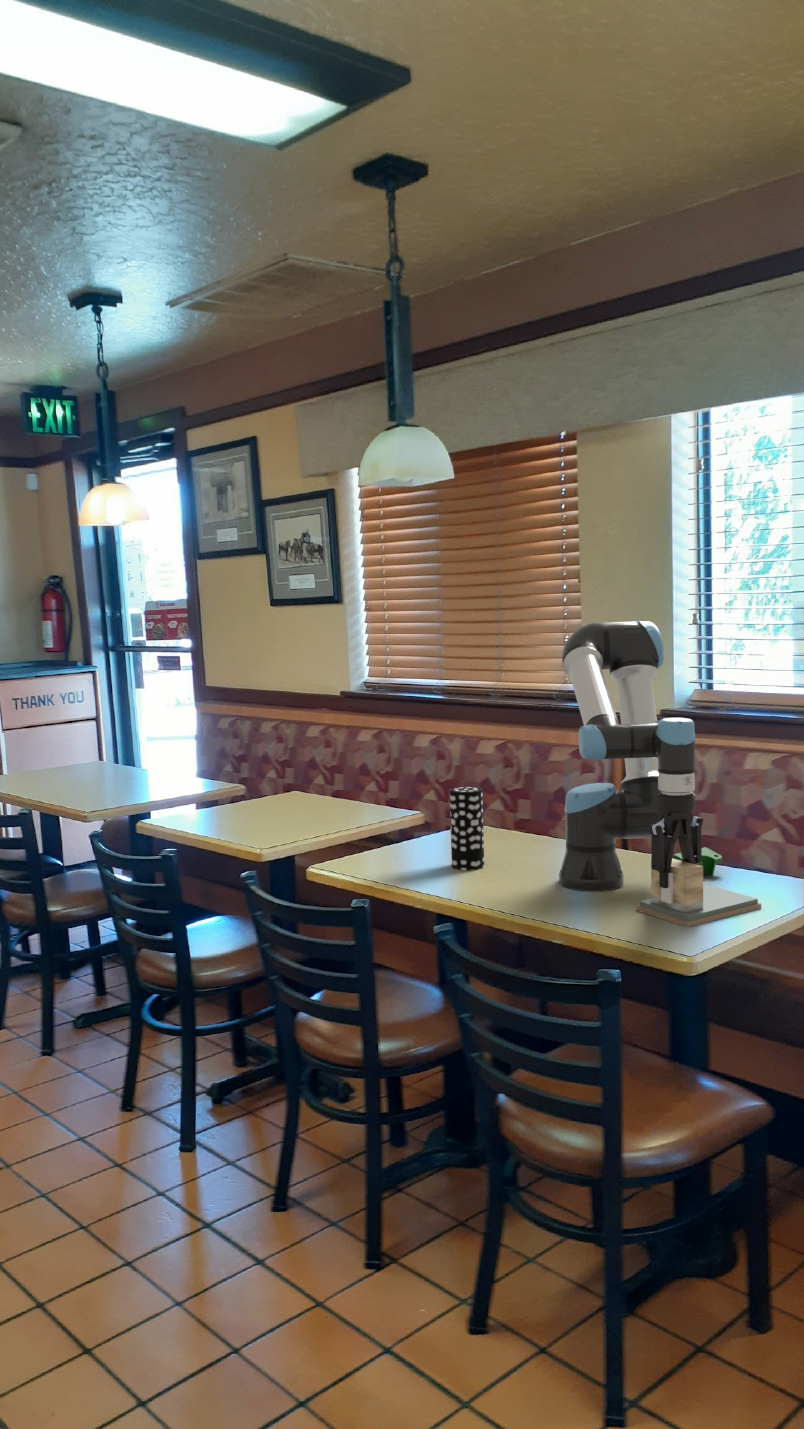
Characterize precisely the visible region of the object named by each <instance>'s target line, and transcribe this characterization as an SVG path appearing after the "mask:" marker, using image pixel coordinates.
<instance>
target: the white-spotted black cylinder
mask: <svg viewBox="0 0 804 1429" xmlns="http://www.w3.org/2000/svg"><path fill="white" fill-rule="evenodd" d="M483 792H484V790H483V788H482V787H479V786H456V787H451V788H450V789H449V810H450V811H449V812H450V841H451V842H450V846H451V847H450V849H451V868H452V869H454V870H457V871H465V872H466V871H467V872H468V871H477V870H482V869H483V868H485V842H484V841H485V838H484V834H485V833H484V804H483V803H484V798H483V797H484V796H483Z"/></svg>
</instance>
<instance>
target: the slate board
mask: <svg viewBox="0 0 804 1429" xmlns="http://www.w3.org/2000/svg"><path fill="white" fill-rule="evenodd" d="M758 909H762V903H761V902H759V899H758V898H755V897H752V896H749V895H746V894H745V895H744V894H742V893H739V892H736V891H735V892H734V891H731V890H728V889H727V890H726V889H724V888H719V887H717V886H712V885H710V884H708V885H703V908H702V909H698V910H695V911H691V912H687V913H686V912H683V911H679V910H676V909H673V908H670V907H667V906H663V905H660V904H657V903H654V902H652V898H651V897H650V898H648V899H643V900H639V904H637V905H636V908H635V910H636V911H638V912H641V913H644V914H648V915H650V916H653V917H656V918H660V919H661V920H662V919H663V920H665V921H668V922H672V923H675V924H678V925H679V926H680V925H681V926H683V927H686V926H687V928H690V926H691V927H693V926H697V925H702V924H705V923H709V922H712V921H716V920H721V919H724V918H728V917H732V916H736V915H740V914H743V913H744V914H745V913H748V912H751V911H755V910H758Z"/></svg>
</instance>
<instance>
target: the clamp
mask: <svg viewBox="0 0 804 1429" xmlns="http://www.w3.org/2000/svg"><path fill="white" fill-rule="evenodd" d="M695 857H696V856H695ZM672 858H673V859H676V860H680V861H683V860H682V855H681V852H678V853H673V857H672ZM722 859H723V856H722V855H721V854H720V853H718V852H715V851H714V850H712V849H710V848H708V847H706V846H705V847H702V862H701V863H700V864H699V863H698V865H700V866H703V874H705V875H708V876H710V877H714V875H715V869H716V865H719V864H722Z"/></svg>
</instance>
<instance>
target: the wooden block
mask: <svg viewBox="0 0 804 1429" xmlns="http://www.w3.org/2000/svg"><path fill="white" fill-rule="evenodd" d="M664 867H665V866H664ZM650 871H651V873H650V875H651V877H650V878H651V880H650V883H651V888H650V889H651V892H650V893H651V896H650V899H651V898H652V902H654V903H657V904H660V905H663V906H667V907H670V908H673V909H676V910H679V911H683V912H686V913H687V912H691V911H695V910H698V909H702V908H703V886H704V873H703V866H700V865H696V864H692V863H688V862H684V861H680V860H676V859H673V857H672V863H671V868H670V872H671V873H673V904H669V903H666V902H663V901H661V887H660V885H659V872H658V871H656V870H652V868H650Z"/></svg>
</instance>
